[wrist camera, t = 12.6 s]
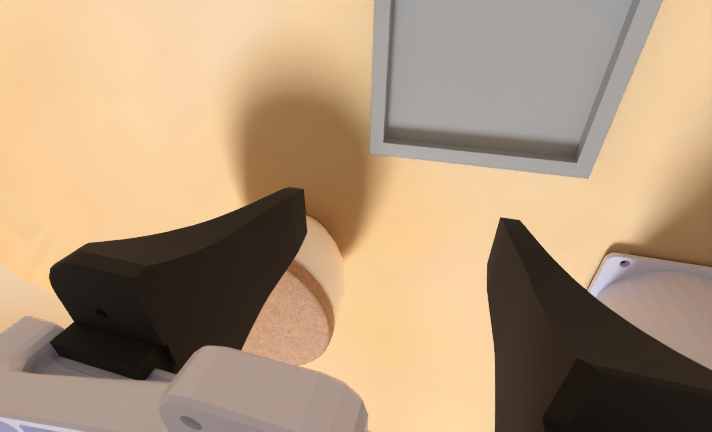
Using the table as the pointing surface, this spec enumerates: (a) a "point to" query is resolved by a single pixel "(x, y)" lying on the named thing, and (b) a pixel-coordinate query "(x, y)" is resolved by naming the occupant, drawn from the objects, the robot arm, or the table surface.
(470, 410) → the table surface
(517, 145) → the tray
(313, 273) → the lidded jar
